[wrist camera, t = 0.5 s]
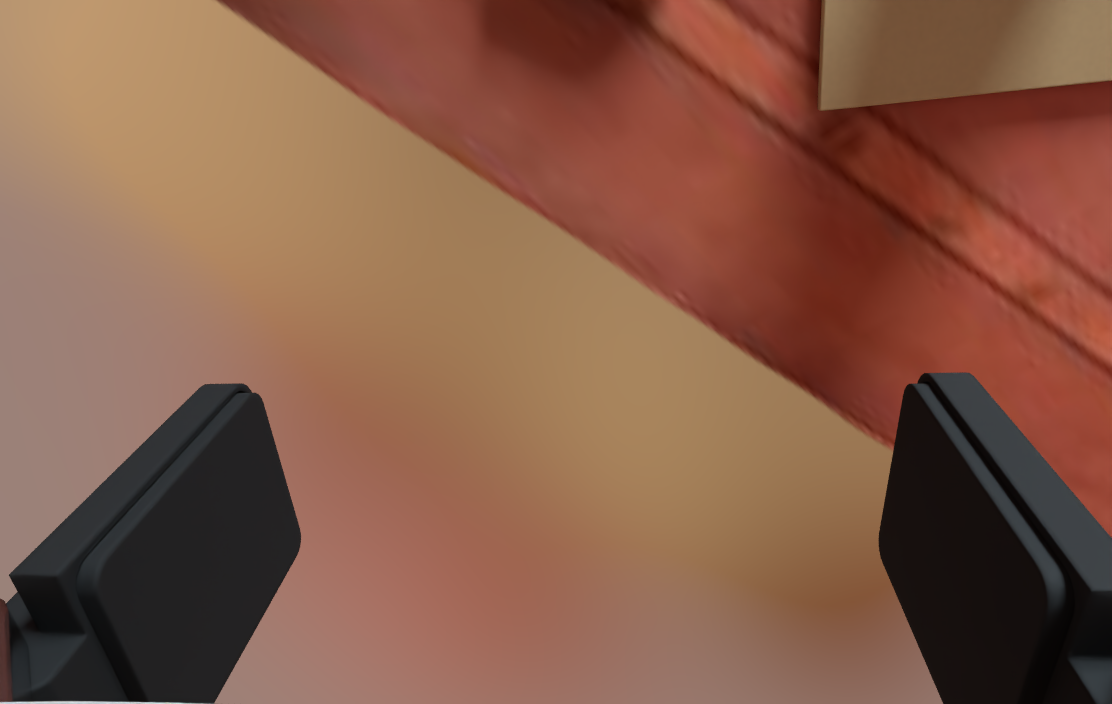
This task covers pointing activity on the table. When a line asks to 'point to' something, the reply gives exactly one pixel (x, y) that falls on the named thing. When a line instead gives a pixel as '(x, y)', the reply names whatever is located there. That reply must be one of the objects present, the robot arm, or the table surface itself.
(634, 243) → the table surface
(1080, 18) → the cork mat
